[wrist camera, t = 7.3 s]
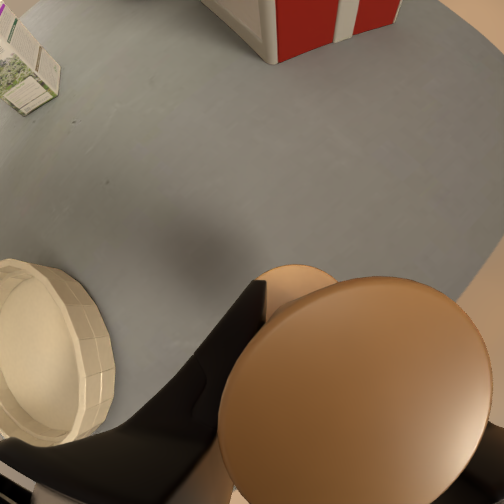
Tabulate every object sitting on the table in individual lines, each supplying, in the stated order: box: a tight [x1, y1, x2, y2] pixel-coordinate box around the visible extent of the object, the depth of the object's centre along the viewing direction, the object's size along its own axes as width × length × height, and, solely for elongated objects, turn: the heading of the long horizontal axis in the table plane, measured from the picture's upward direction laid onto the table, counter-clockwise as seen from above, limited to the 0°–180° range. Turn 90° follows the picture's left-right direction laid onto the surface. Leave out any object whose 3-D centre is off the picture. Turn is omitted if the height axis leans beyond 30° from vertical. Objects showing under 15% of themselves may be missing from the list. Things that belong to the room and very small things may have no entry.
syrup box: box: [0, 0, 61, 117], centre depth 22 cm, size 6×6×14 cm
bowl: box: [0, 258, 115, 447], centre depth 21 cm, size 16×16×5 cm
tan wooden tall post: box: [217, 264, 493, 504], centre depth 9 cm, size 6×6×15 cm
